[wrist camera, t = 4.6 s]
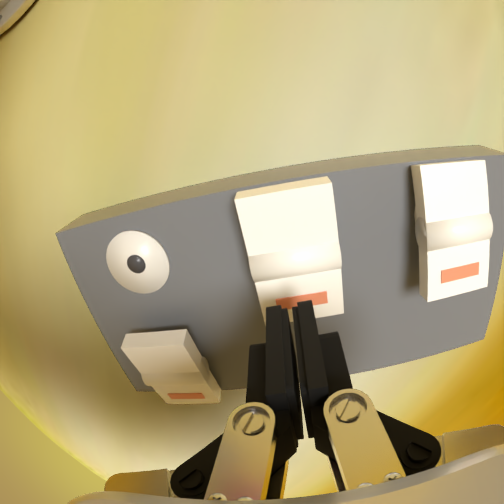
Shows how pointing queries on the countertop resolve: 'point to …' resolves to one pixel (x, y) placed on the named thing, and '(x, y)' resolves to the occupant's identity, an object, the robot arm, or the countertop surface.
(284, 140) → the countertop surface
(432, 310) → the switch panel
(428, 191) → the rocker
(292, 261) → the rocker mid
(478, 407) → the countertop surface
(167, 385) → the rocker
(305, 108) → the countertop surface
